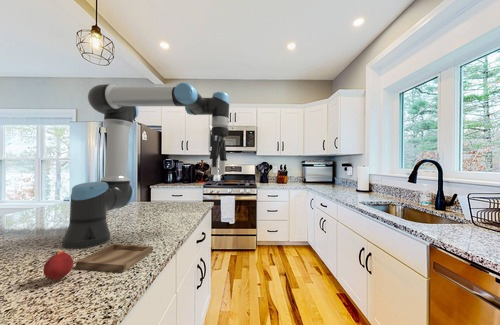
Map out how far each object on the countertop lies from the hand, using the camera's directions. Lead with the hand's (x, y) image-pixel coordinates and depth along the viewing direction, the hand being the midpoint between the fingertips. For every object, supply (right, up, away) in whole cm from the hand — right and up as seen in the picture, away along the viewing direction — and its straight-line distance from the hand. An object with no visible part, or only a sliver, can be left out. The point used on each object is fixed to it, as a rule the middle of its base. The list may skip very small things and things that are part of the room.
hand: (218, 174), depth 93 cm
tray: (-29, -26, -25) cm, 46 cm away
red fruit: (-36, -26, -38) cm, 59 cm away
